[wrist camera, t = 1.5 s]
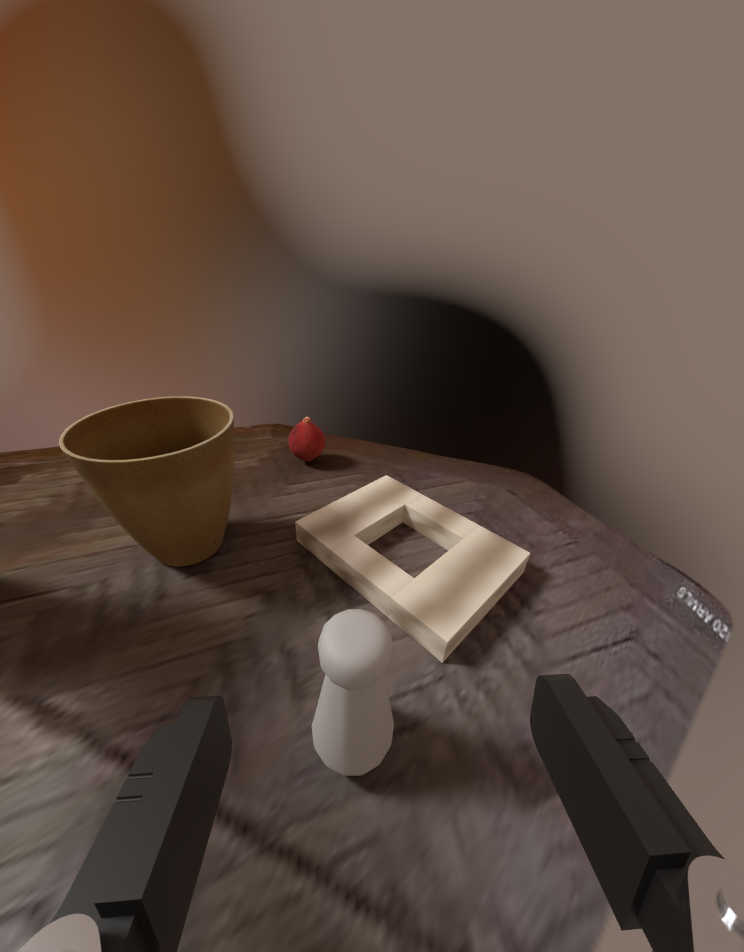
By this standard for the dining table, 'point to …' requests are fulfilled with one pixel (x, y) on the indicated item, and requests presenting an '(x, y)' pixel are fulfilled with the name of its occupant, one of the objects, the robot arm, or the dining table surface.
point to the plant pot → (160, 472)
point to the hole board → (439, 586)
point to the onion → (306, 440)
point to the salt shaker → (353, 693)
